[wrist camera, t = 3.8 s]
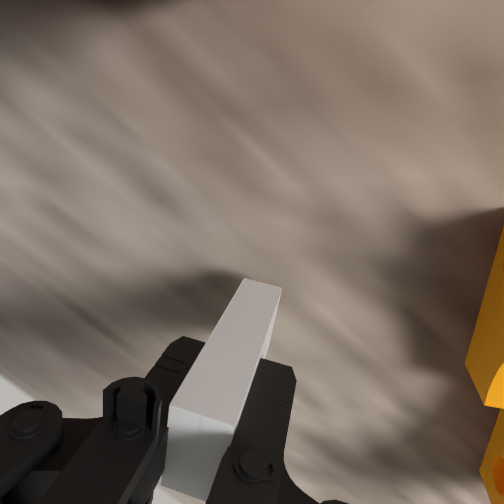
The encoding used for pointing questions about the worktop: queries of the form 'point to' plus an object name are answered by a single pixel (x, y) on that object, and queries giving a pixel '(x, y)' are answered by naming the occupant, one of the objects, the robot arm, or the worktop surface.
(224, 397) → the robot arm
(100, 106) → the worktop surface
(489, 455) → the pipe clamp
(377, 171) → the worktop surface
